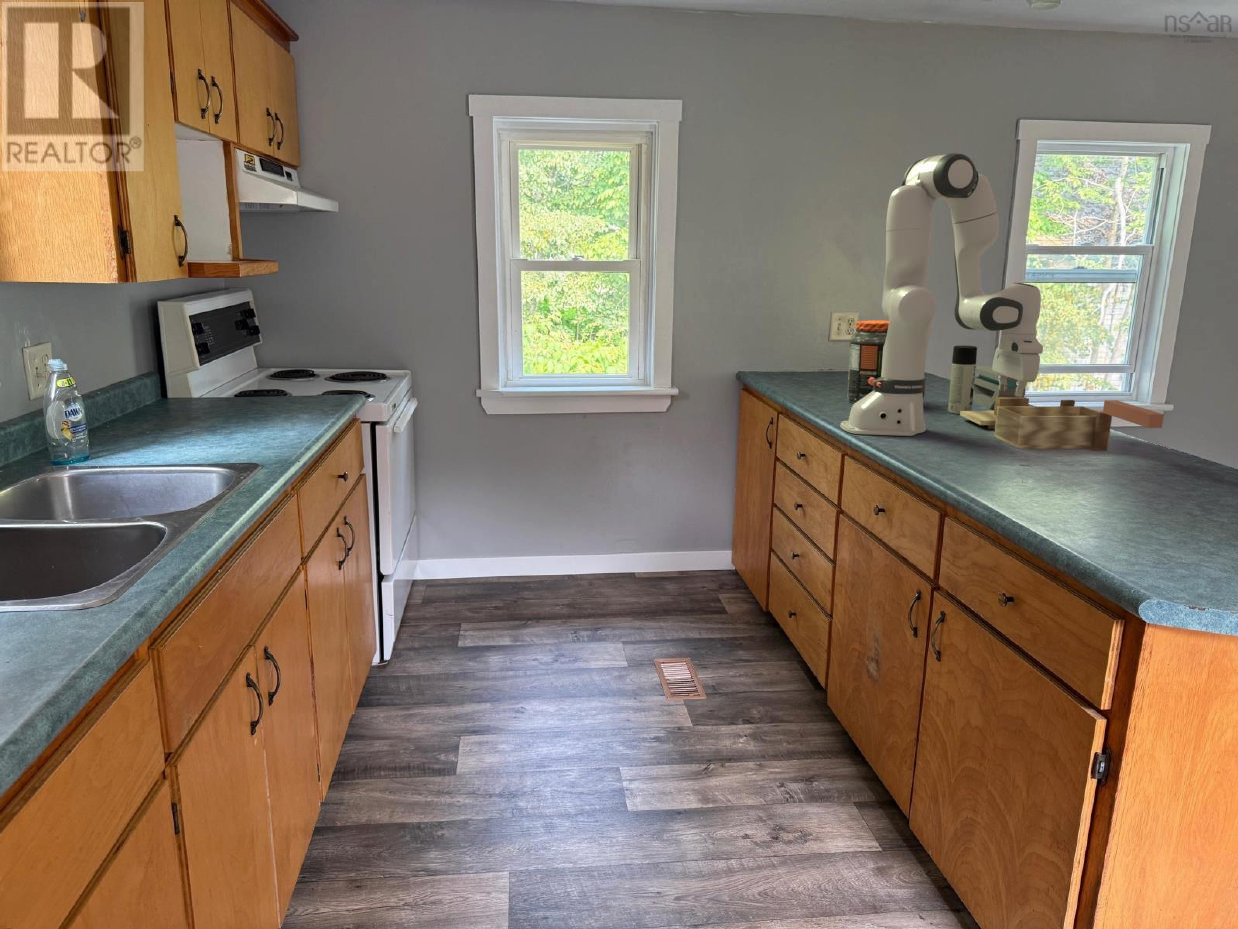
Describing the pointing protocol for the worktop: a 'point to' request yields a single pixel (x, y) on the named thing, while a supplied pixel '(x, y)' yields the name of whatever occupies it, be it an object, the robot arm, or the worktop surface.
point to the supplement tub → (865, 357)
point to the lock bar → (1133, 414)
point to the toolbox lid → (990, 416)
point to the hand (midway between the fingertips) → (1010, 393)
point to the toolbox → (1053, 427)
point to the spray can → (962, 378)
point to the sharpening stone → (991, 387)
